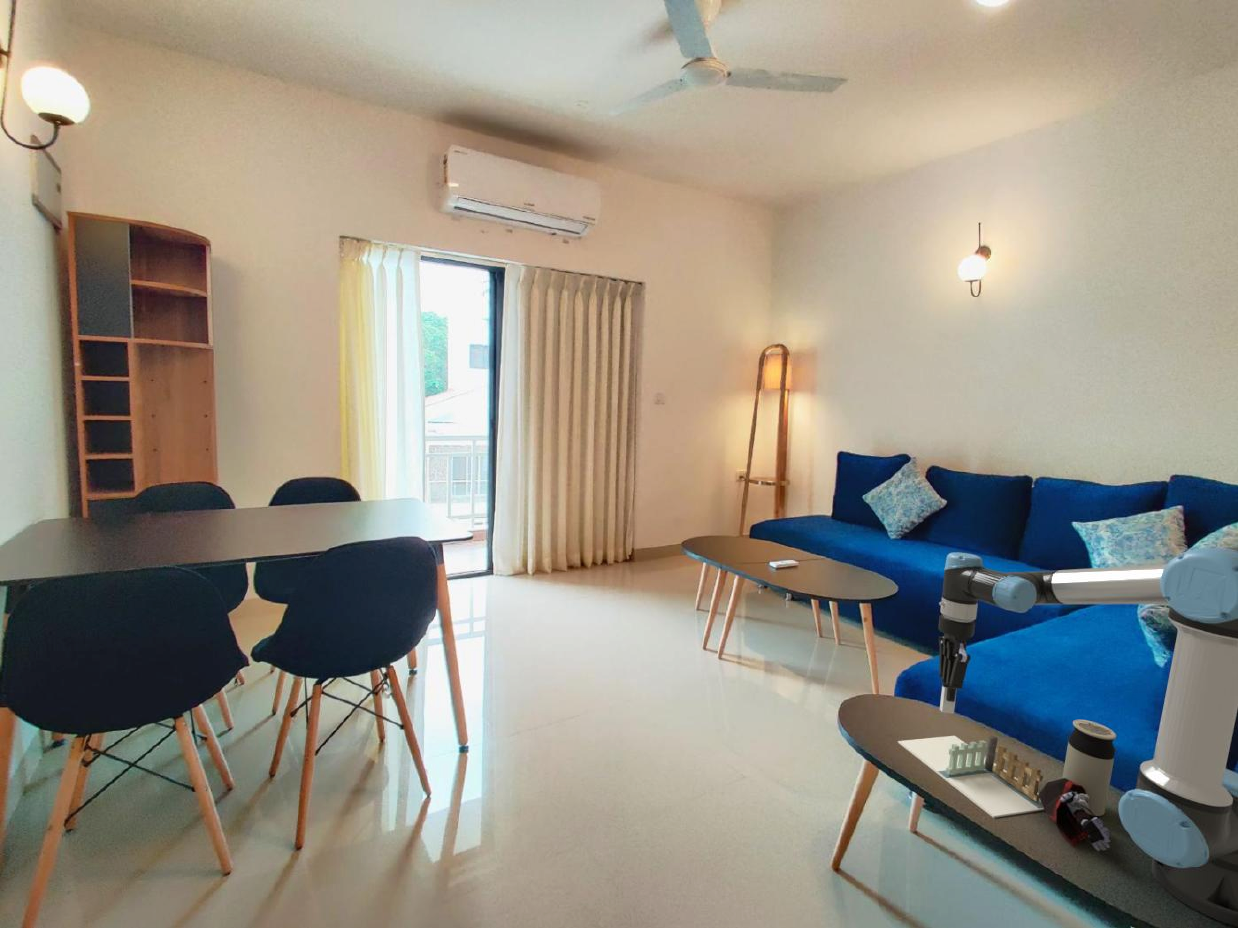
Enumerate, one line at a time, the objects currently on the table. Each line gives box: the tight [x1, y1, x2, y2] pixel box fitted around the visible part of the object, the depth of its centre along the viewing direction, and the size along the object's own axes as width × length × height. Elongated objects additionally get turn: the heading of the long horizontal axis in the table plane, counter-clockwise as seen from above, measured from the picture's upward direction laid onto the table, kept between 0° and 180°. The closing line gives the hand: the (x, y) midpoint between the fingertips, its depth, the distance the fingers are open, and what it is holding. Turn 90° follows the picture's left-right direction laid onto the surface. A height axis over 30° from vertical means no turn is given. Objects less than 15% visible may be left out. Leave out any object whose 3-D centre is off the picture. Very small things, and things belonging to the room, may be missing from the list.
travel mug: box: [1062, 719, 1117, 817], centre depth 132 cm, size 8×8×18 cm
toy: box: [1038, 777, 1111, 852], centre depth 123 cm, size 12×9×15 cm
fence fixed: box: [985, 734, 1044, 801], centre depth 137 cm, size 13×2×8 cm, turn 16°
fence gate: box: [946, 739, 988, 775], centre depth 140 cm, size 11×1×7 cm, turn 108°
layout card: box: [897, 735, 1045, 819], centre depth 141 cm, size 28×18×1 cm, turn 16°
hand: (946, 711), depth 145 cm, fingers closed
